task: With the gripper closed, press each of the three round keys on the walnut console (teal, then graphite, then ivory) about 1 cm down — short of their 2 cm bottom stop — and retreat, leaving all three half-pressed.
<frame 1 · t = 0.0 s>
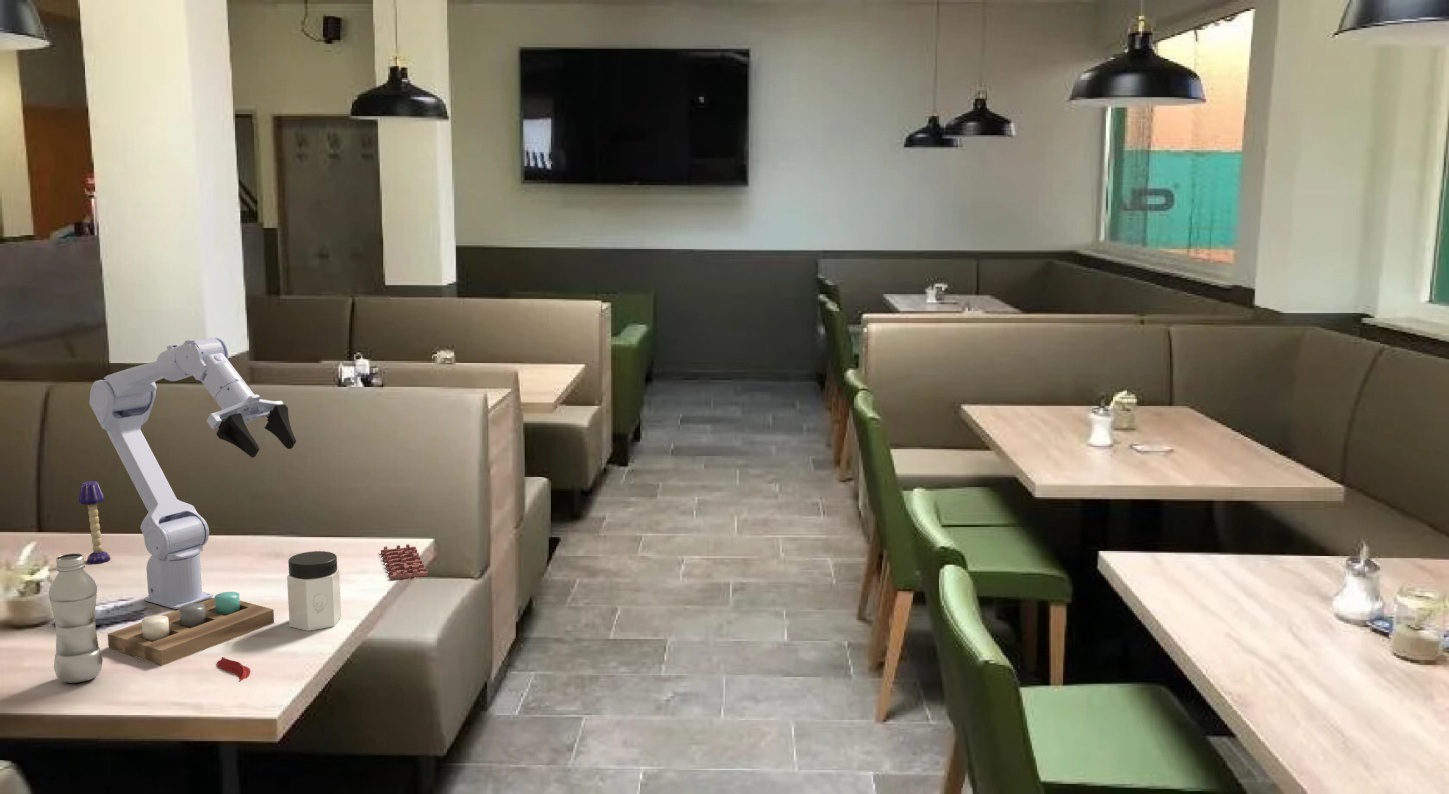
hand: (274, 449, 197), 32 cm above the table, tool tilted 50°, fingers open, 7 cm apart
plastic bottle: (80, 680, 181), on the table
graphite key: (192, 615, 199), point 4 cm above the table, slide at 0.0 cm
jar: (315, 623, 206), on the table
teal key: (227, 603, 205), point 4 cm above the table, slide at 0.0 cm
cayenne pepper: (234, 672, 186), on the table
ivory key: (155, 628, 193), point 4 cm above the table, slide at 0.0 cm
toy lamp: (97, 561, 238), on the table
console: (193, 635, 199), on the table
brown woven panel: (403, 568, 239), on the table
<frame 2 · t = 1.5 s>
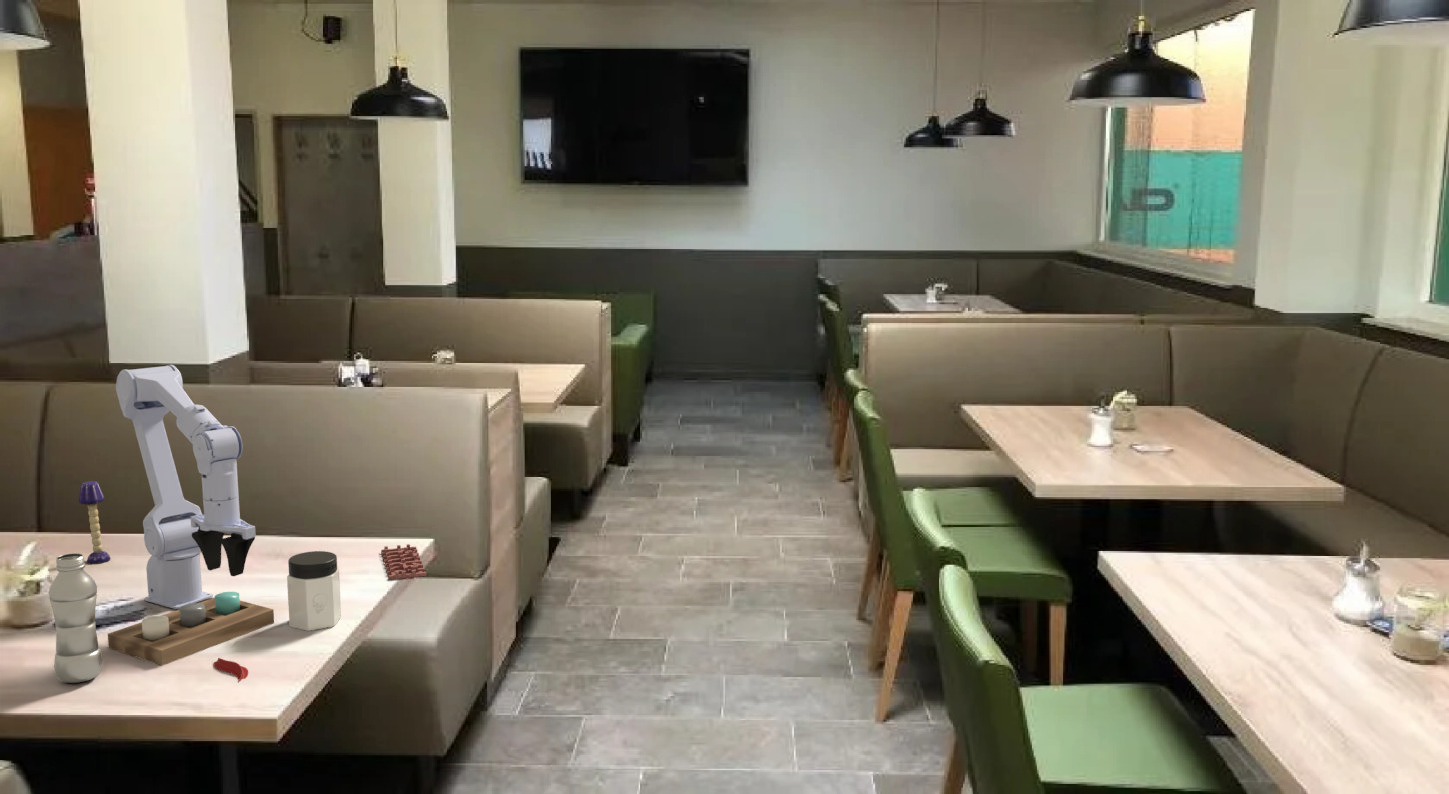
hand: (225, 571, 204), 9 cm above the table, tool pointing down, fingers open, 5 cm apart
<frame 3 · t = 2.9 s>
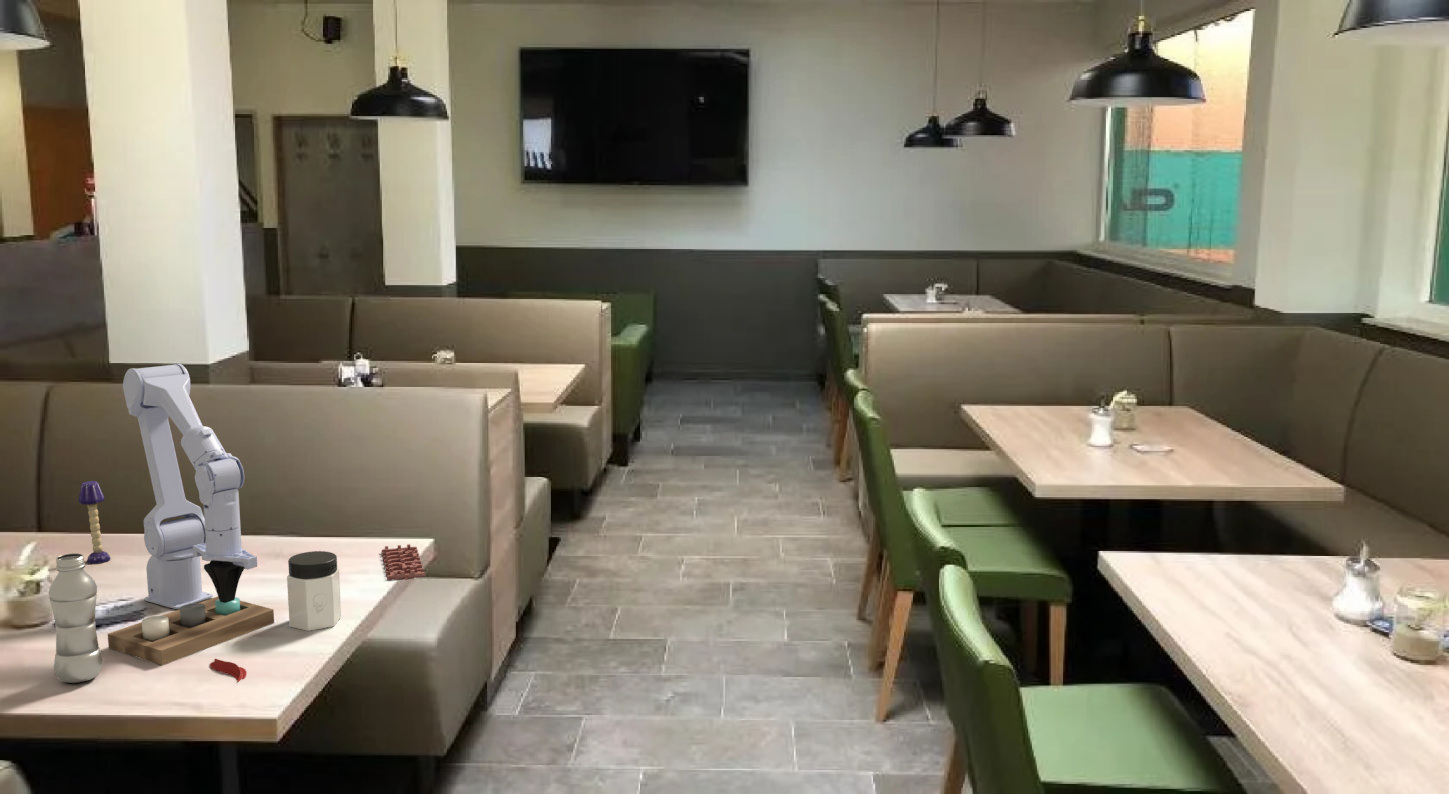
hand: (227, 600, 205), 4 cm above the table, tool pointing down, fingers closed, pressing on teal key
teal key: (227, 608, 205), point 3 cm above the table, slide at 1.0 cm, touching gripper
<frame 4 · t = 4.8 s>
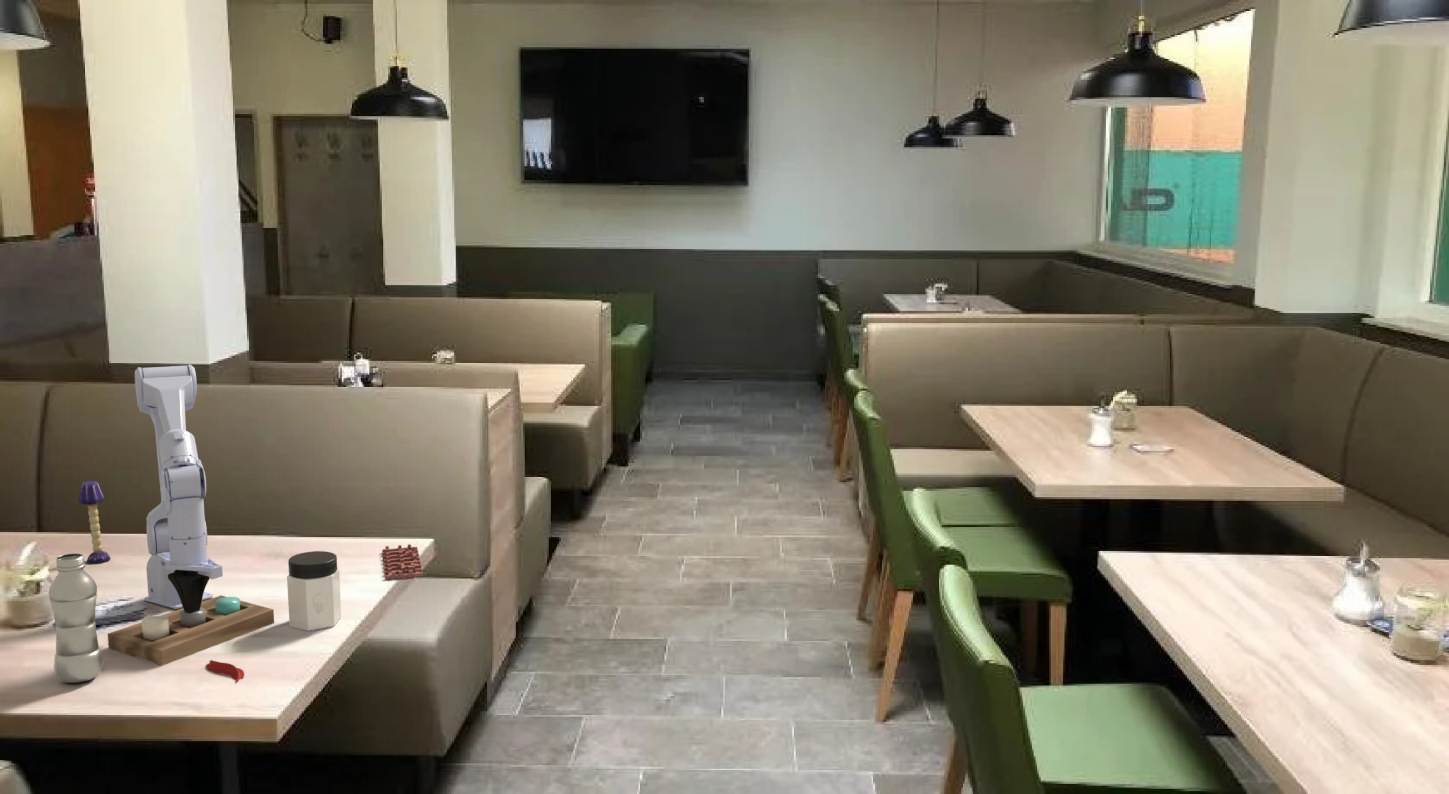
hand: (192, 611, 199), 4 cm above the table, tool pointing down, fingers closed, pressing on graphite key
graphite key: (192, 618, 199), point 3 cm above the table, slide at 0.7 cm, touching gripper
teal key: (227, 608, 205), point 3 cm above the table, slide at 1.0 cm
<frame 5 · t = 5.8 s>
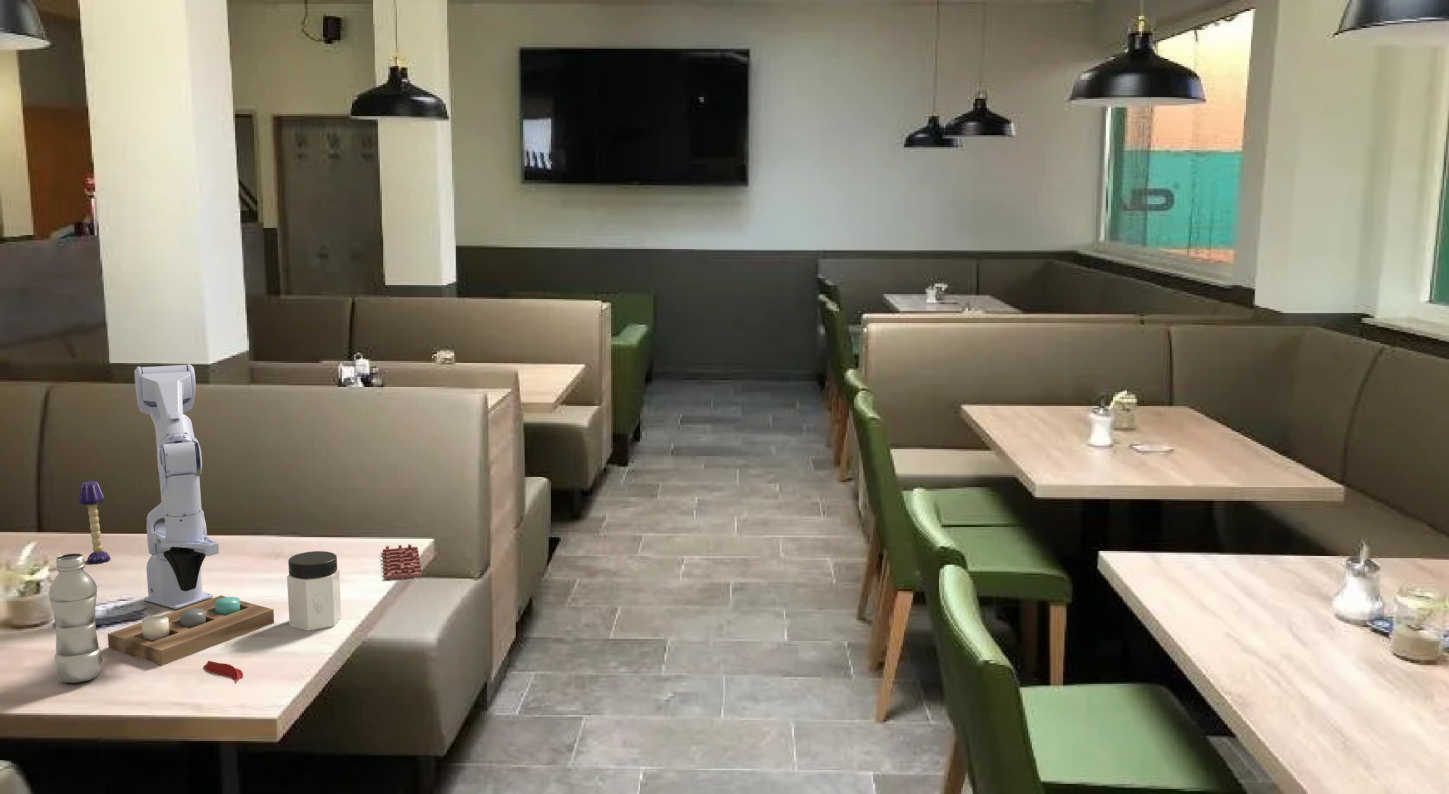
hand: (188, 589, 197), 8 cm above the table, tool pointing down, fingers closed
graphite key: (193, 620, 199), point 3 cm above the table, slide at 0.9 cm
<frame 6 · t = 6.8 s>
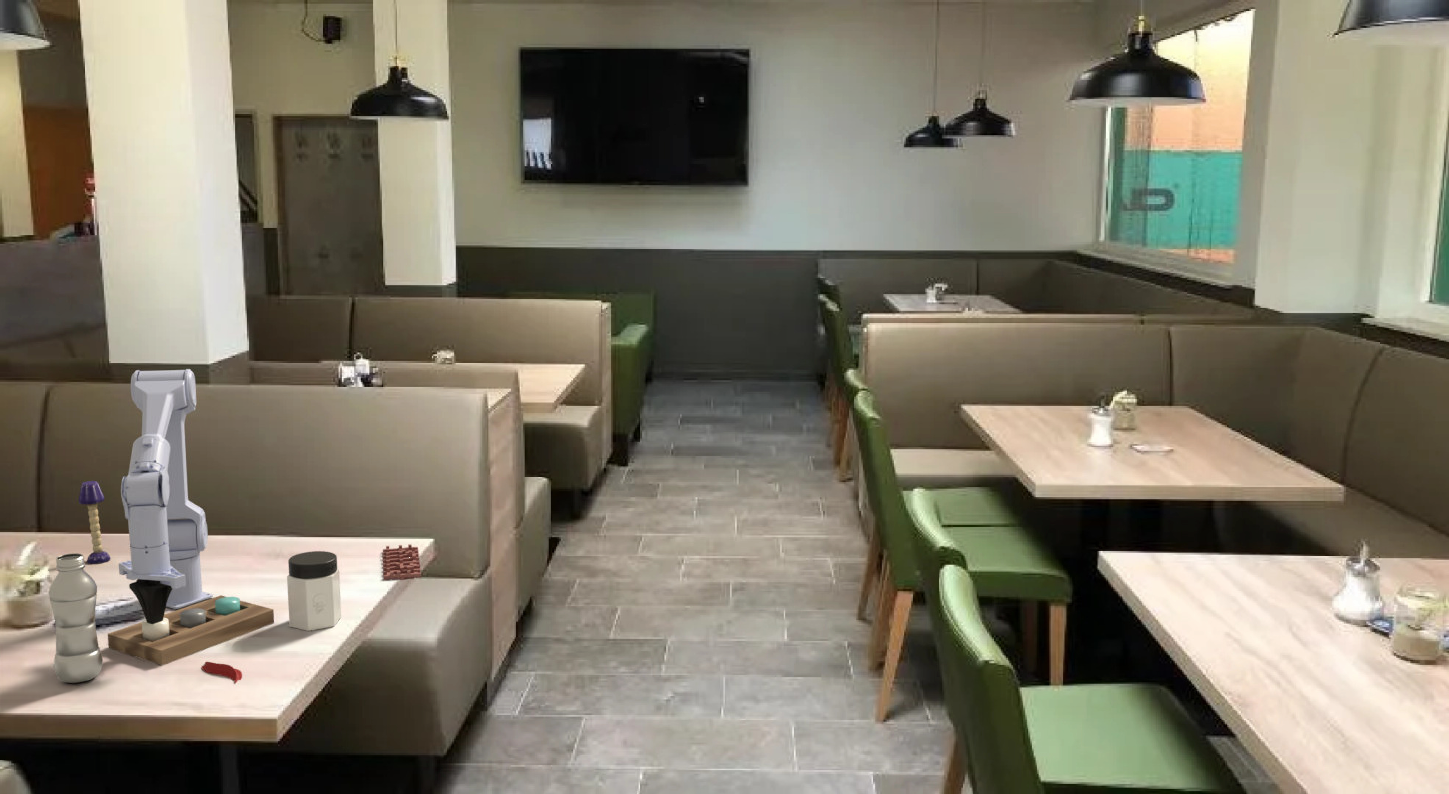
hand: (155, 621, 193), 5 cm above the table, tool pointing down, fingers closed, pressing on ivory key
ivory key: (155, 629, 193), point 3 cm above the table, slide at 0.3 cm, touching gripper
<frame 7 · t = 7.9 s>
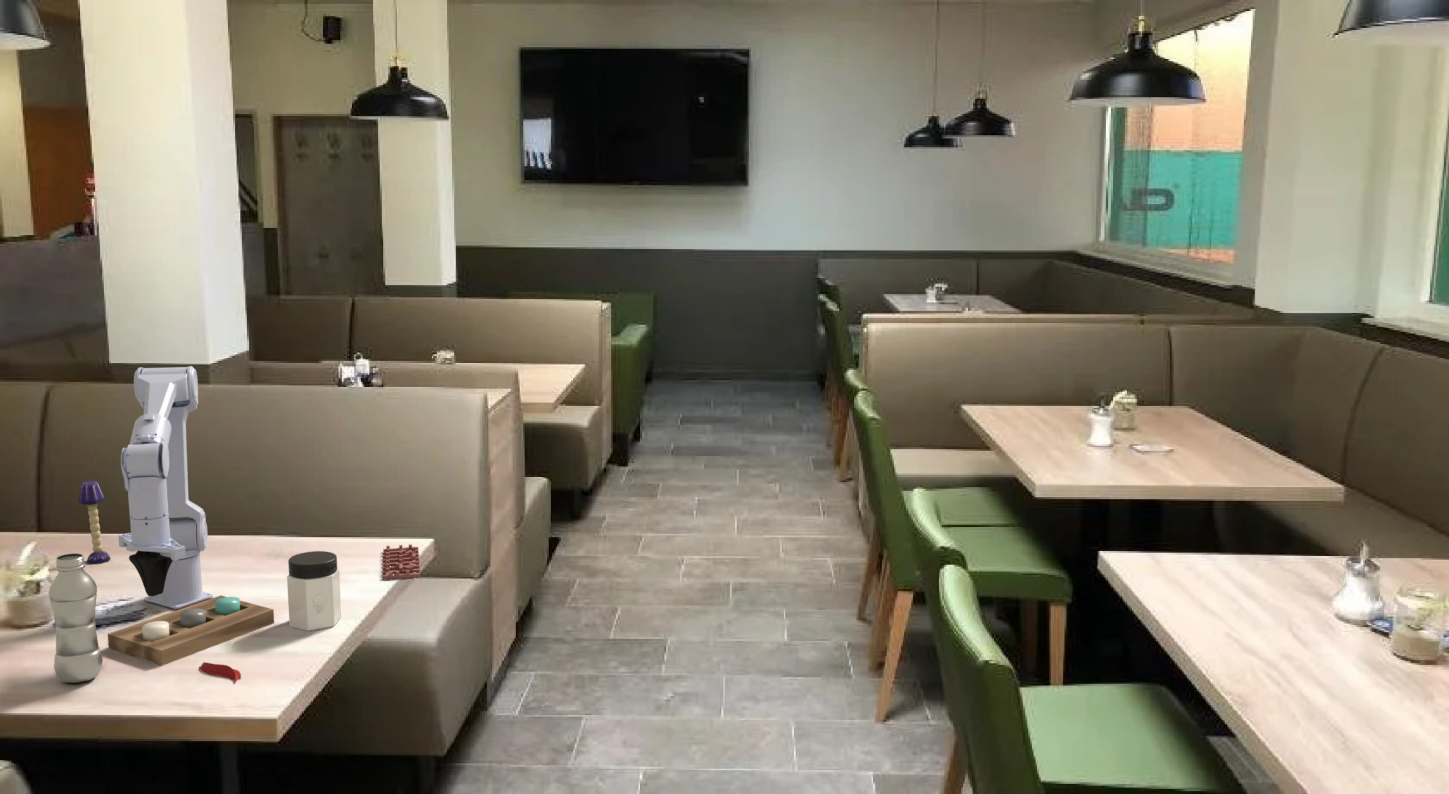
hand: (155, 594, 192), 9 cm above the table, tool pointing down, fingers closed
ivory key: (156, 633, 193), point 3 cm above the table, slide at 0.9 cm
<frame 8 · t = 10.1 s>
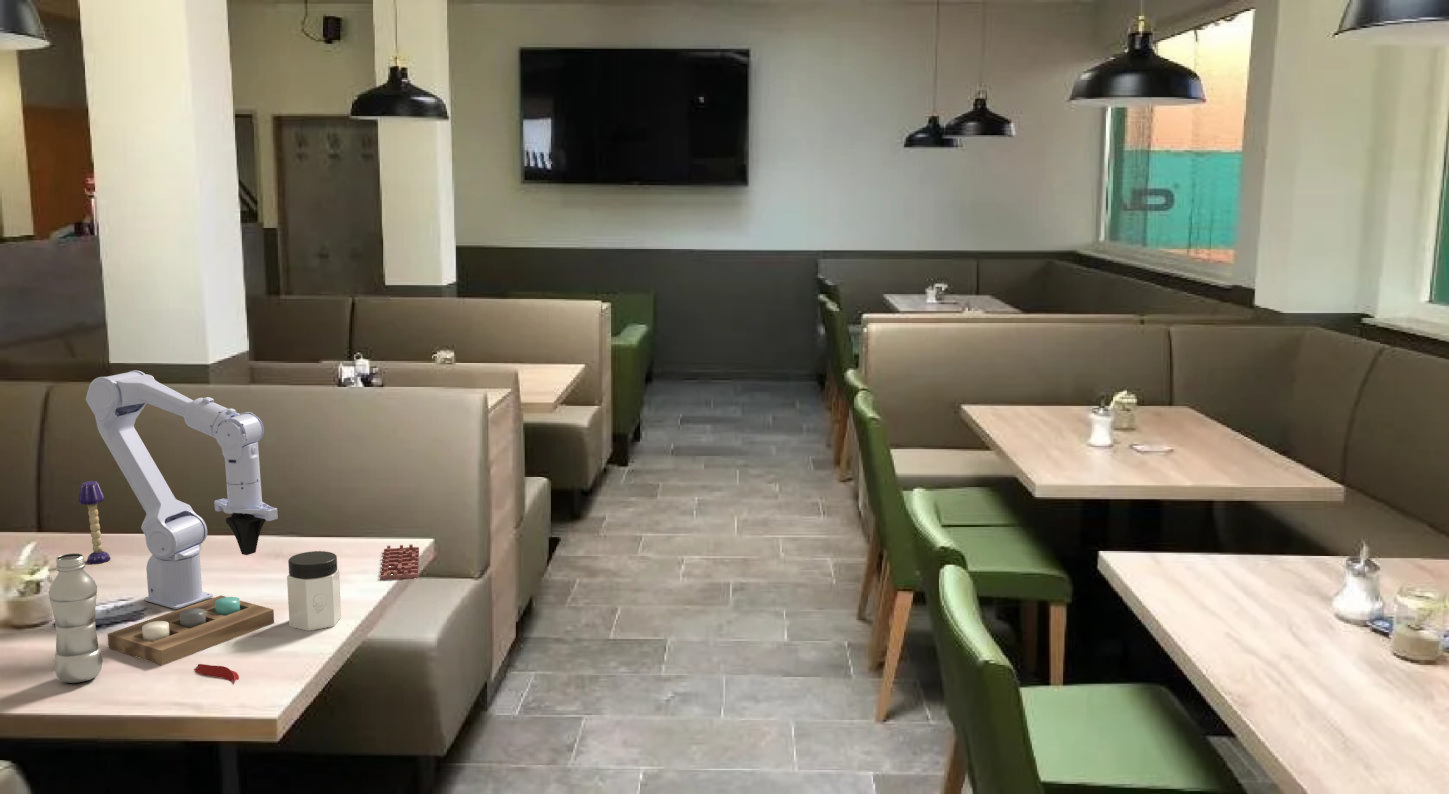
hand: (248, 553, 211), 10 cm above the table, tool pointing down, fingers closed
at the end: teal key slide at 1.0 cm; graphite key slide at 0.9 cm; ivory key slide at 0.9 cm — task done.
